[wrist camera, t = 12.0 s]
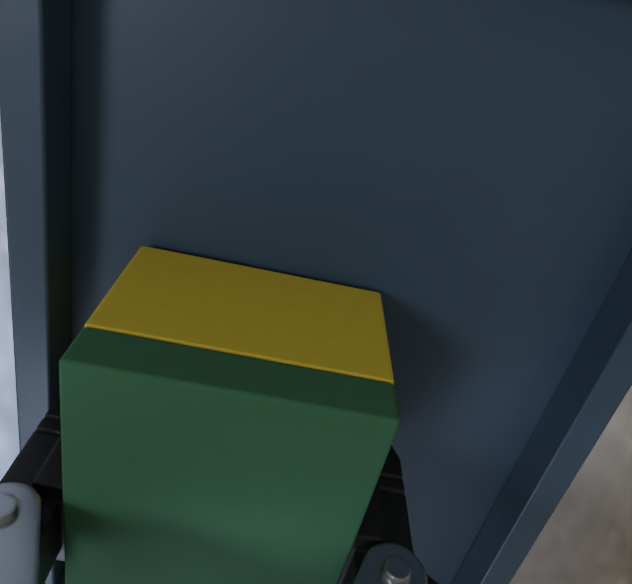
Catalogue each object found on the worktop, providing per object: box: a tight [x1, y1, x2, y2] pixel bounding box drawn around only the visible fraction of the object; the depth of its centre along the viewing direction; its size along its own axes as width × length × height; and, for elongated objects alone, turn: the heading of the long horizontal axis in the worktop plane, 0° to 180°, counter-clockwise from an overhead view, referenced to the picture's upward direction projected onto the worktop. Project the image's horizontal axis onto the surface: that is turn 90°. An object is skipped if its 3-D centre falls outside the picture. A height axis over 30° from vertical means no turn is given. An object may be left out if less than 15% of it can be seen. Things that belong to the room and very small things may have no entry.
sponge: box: [59, 246, 400, 584], centre depth 12 cm, size 8×5×4 cm
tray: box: [0, 0, 632, 584], centre depth 13 cm, size 20×14×2 cm
